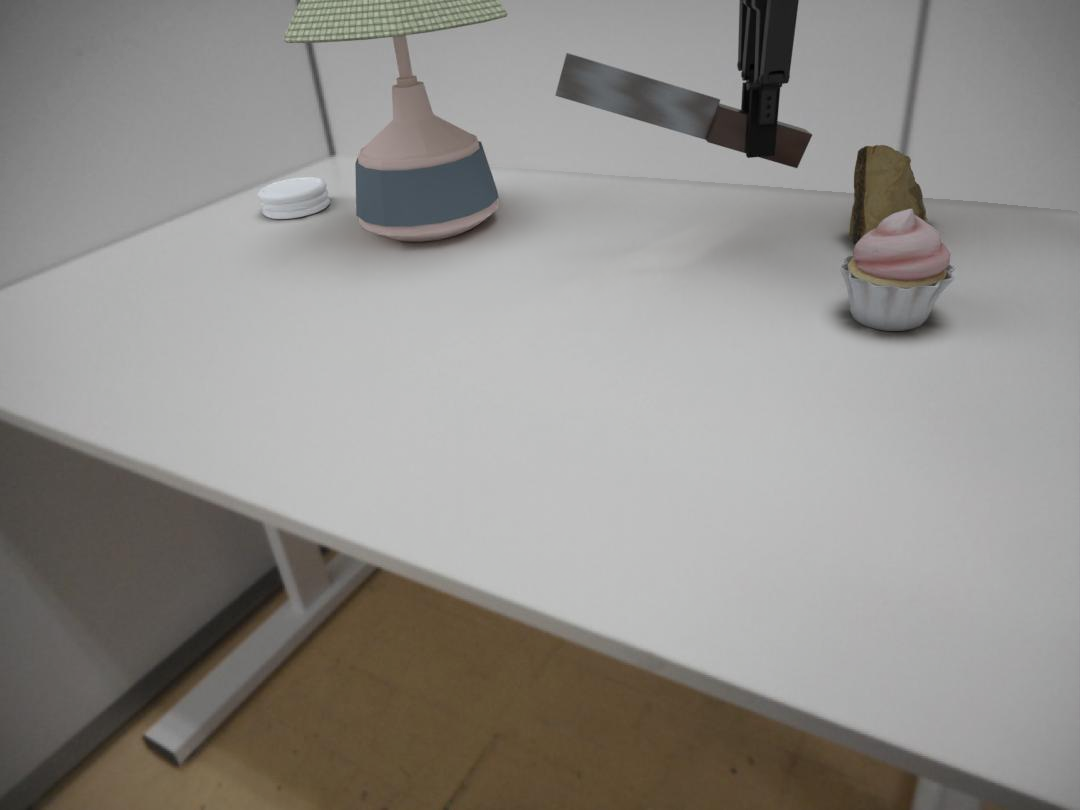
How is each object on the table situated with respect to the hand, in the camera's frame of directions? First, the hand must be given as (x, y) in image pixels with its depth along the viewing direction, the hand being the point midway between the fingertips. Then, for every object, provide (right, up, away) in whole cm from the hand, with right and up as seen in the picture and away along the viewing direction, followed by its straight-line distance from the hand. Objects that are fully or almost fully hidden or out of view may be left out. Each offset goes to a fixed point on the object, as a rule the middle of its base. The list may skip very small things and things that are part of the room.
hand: (756, 151), depth 77 cm
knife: (-8, +2, -1) cm, 9 cm away
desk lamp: (-37, -2, +23) cm, 44 cm away
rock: (+17, -7, +7) cm, 20 cm away
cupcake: (+9, -18, -9) cm, 23 cm away
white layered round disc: (-59, +3, +35) cm, 69 cm away
